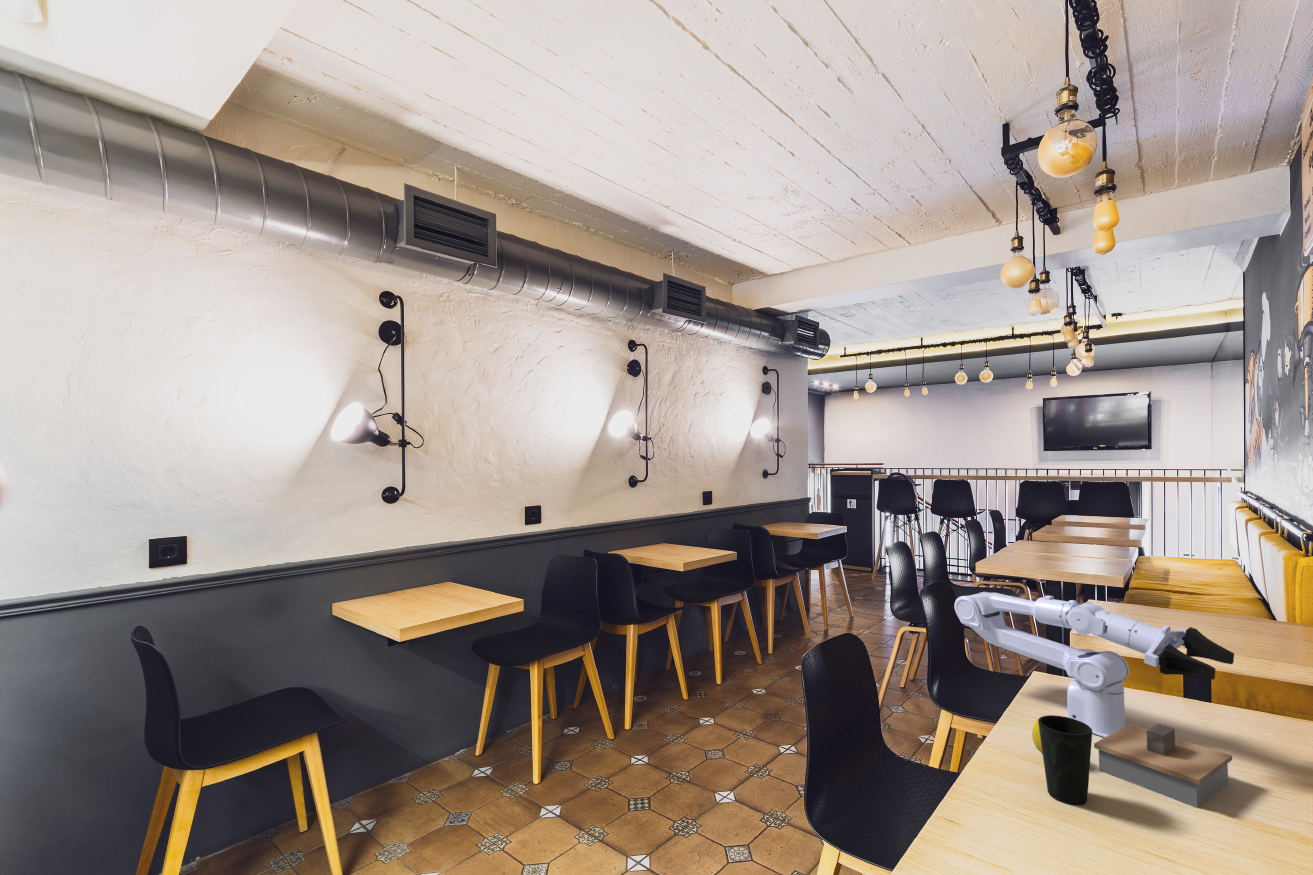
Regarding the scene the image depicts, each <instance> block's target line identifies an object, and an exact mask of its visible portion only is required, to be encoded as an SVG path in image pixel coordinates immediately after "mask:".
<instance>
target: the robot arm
mask: <svg viewBox="0 0 1313 875" xmlns="http://www.w3.org/2000/svg"><path fill="white" fill-rule="evenodd" d="M1054 598H1055V597H1054V596H1053V595H1045V596H1044V597H1039V598H1037V599H1036V600H1035V601H1034V600H1029V599H1026V598H1020V597H1016V596H1012V595H1007V594H1003V593H1000V592H988V591H982V592H979V593H975V594H970V595H962V596H958V597H957V598H956V599H955V602H954V607H953V608H954V611H955V613H956V616H957V618H958V619H959V621H960V623H961V624H963V625H965V626H967V627H969V628H970V629H972V630H973V631H974V632H975V633H977V635H979V636H980V637H981V638H982V639H983V640H985V642H986V643H989V644H991V645H993V646H996V647H999V648H1001V649H1004V650H1008V651H1010V652H1013V653H1016V654H1019V655H1022V656H1025V657H1027V658H1030V659H1033V660H1036V661H1038V662H1042V663H1043V664H1044V663H1045V664H1047V665H1050V666H1052V667H1056V668H1059V669H1061V670H1065V671H1066V674H1067V676H1068V677H1070V678H1072V679H1074V680H1072V681H1071V682H1070V683H1069V685H1068V688H1067V693H1066V696H1067V697H1066V698H1067V699H1066V700H1067V717H1068V718H1072V719H1075V720H1078V721H1081V722H1083V723H1085V724H1087V725H1088V726H1089V727H1090V728H1091V729H1092V735H1097V736H1100V737H1103V738H1105V737H1107V736H1109V735H1111V734H1112V733H1114V732H1116V731H1118V730H1120V729H1122V728H1123V727H1125V726H1126V710H1125V708H1126V706H1125V687H1124V681H1125V680H1127V679H1128V677H1129V675H1130V666H1129V665H1128V662H1127V661H1126V660H1125V658H1124V657H1122V656H1121V655H1120V654H1118V653H1116V652H1114V651H1111V650H1105V651H1098V650H1094V649H1088V648H1077V647H1073V646H1070V645H1066V644H1064V643H1059V642H1056V641H1053V640H1050V639H1048V638H1045V637H1041V636H1040V635H1039V636H1038V635H1035V634H1033V633H1032V634H1031V633H1029V632H1026V631H1023V630H1020V629H1016V628H1013V627H1010V626H1007V625H1006V622H1005V620H1004V615H1003V613H1002V612H1006V613H1013V614H1020V615H1027V616H1033V617H1034V618H1035V619H1036V621H1037V622H1039V623H1041V624H1045V625H1050V626H1056V627H1061V628H1066V629H1070V630H1071V629H1072V630H1075V632H1076V633H1077V634H1078V635H1082V636H1086V635H1090V634H1092V635H1093V636H1097V637H1098V638H1102V639H1104V640H1106V641H1109V642H1112V643H1114V644H1118V645H1120V646H1122V647H1125V648H1128V649H1131V650H1133V651H1136V652H1139V653H1140V654H1144V655H1143V657H1144V658H1143V663H1144V664H1146V665H1149V666H1152V667H1155V668H1157V667H1158V666H1159V672H1160V674H1163V675H1167V676H1168V675H1182V676H1189V677H1190V676H1191V677H1194V678H1195V677H1196V678H1202V679H1206V680H1212V681H1214V680H1215V678H1216V677H1215V676H1216V670H1217V669H1216V668H1215V667H1213V666H1212V665H1210V664H1208V663H1205V662H1203V661H1201V660H1199V659H1196V658H1201V659H1208V660H1212V661H1215V662H1218V663H1223V664H1228V665H1233V664H1234V661H1235V660H1234V659H1235V653H1234V652H1233V651H1230V650H1229V649H1227V648H1225V647H1223V646H1222V645H1219V644H1217V643H1215V642H1214V641H1212V640H1211V639H1209V638H1208V637H1207V636H1205V635H1204V634H1203V633H1201V632H1200V631H1199V630H1198V629H1197V628H1195V627H1188V628H1187V629H1185V628H1182V627H1181V628H1179V629H1171V626H1169V625H1164V626H1163V627H1162V628H1159V627H1157V626H1153V625H1150V624H1147V623H1144V622H1141V621H1139V620H1136V619H1132V618H1129V617H1126V616H1123V615H1120V614H1117V613H1113V612H1111V611H1106V610H1105V609H1104V608H1103V607H1102V606H1101V605H1099V604H1096V603H1094V602H1091V601H1087V602H1083V603H1081V604H1079V603H1078V602H1077V600H1073V599H1071V600H1068V601H1066V600H1060V599H1054ZM1182 646H1183V647H1184V648H1185V649H1186V653H1184V652H1182V651H1181V650H1179V648H1180V647H1182Z"/></svg>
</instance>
